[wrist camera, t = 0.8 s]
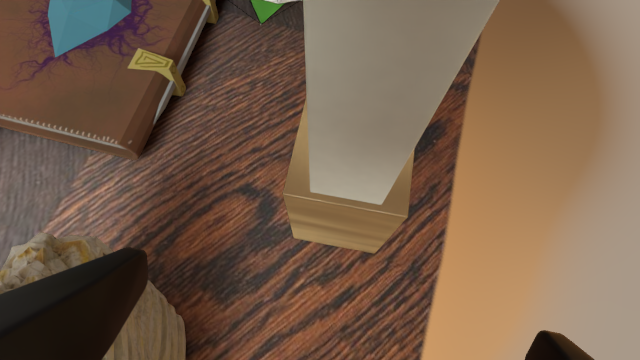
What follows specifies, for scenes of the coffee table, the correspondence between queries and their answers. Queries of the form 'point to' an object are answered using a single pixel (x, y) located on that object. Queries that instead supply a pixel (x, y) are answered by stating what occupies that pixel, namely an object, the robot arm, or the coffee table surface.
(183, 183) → the coffee table surface
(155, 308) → the fossil tooth
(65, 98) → the book
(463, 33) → the cream rectangular block
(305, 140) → the wood and grey block
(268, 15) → the geometric puzzle
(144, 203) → the coffee table surface
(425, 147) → the coffee table surface
